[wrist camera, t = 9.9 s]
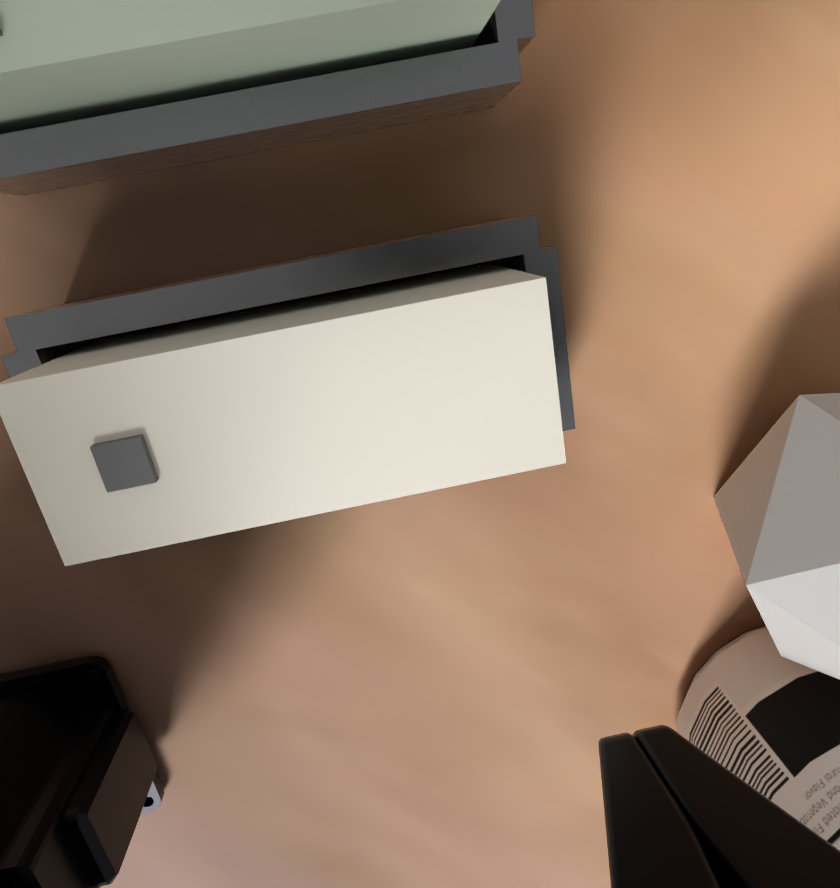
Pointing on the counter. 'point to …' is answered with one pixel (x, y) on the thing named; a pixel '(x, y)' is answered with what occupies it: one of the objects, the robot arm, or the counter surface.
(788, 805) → the supplement can
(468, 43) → the sage key
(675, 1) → the counter surface
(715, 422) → the counter surface
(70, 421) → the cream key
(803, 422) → the grey angular block
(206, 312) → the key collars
